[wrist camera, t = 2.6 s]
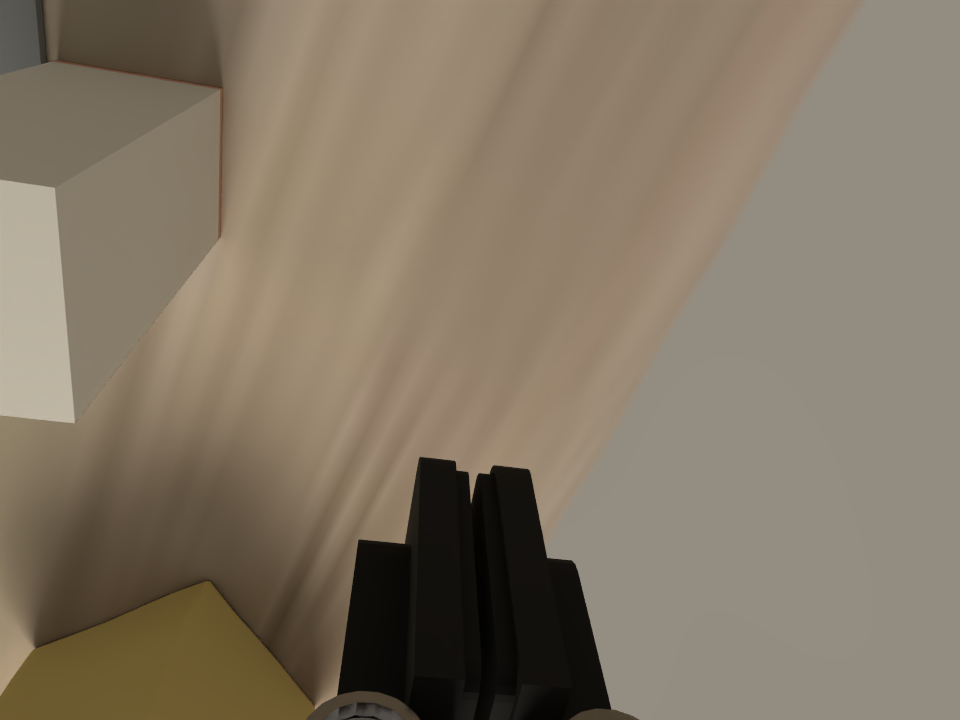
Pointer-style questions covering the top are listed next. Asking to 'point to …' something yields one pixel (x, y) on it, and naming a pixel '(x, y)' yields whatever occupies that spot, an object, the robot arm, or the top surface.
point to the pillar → (96, 222)
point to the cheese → (158, 669)
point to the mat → (21, 35)
